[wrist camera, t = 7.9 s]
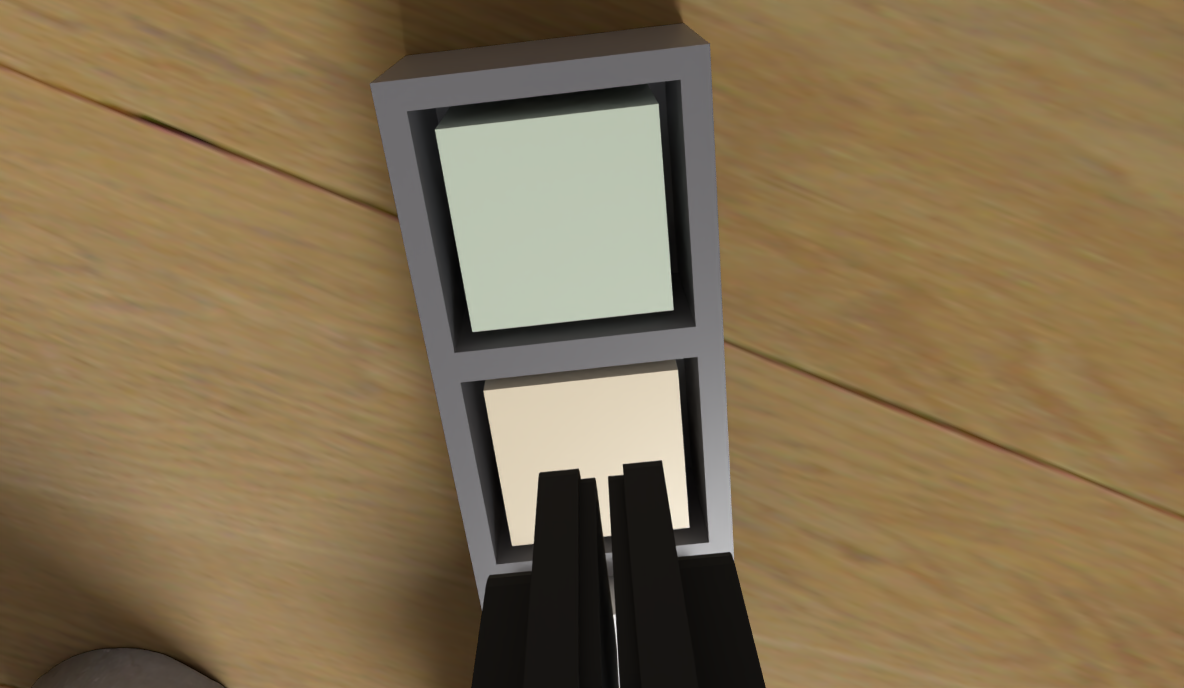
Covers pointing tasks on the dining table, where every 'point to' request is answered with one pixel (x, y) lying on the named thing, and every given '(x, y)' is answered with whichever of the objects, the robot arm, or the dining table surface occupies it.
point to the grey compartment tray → (466, 359)
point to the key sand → (585, 433)
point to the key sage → (558, 206)
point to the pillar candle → (123, 671)
